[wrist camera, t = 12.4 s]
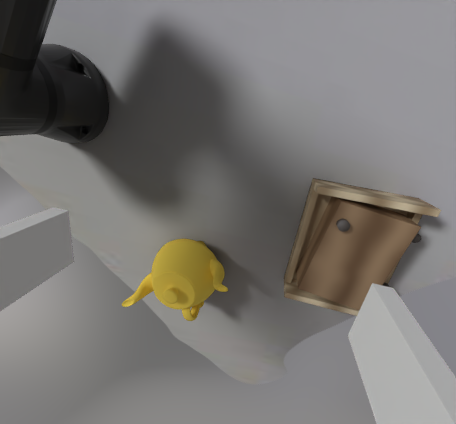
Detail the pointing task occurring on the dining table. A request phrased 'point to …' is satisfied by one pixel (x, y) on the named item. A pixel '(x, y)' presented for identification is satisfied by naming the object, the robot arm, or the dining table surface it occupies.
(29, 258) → the robot arm
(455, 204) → the dining table surface
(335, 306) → the box
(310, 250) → the door
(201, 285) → the teapot
